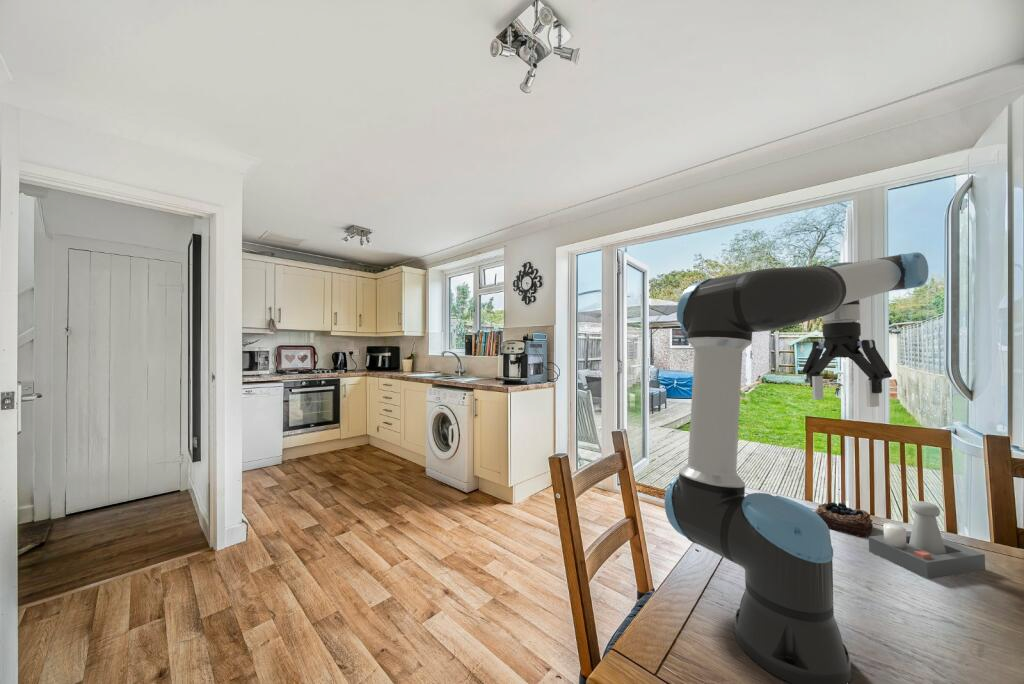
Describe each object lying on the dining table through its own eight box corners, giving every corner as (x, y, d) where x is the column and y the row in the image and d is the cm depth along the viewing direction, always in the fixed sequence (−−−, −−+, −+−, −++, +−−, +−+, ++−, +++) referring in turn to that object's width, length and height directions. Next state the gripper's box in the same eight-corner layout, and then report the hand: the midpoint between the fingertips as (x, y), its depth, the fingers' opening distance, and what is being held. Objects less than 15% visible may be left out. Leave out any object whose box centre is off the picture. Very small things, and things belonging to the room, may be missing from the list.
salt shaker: (955, 568, 81) (953, 509, 82) (924, 566, 82) (922, 507, 83) (931, 554, 87) (928, 498, 87) (902, 552, 88) (900, 497, 88)
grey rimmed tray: (927, 579, 78) (926, 543, 78) (869, 551, 89) (867, 520, 89) (985, 570, 81) (983, 535, 81) (921, 544, 91) (920, 513, 92)
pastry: (871, 541, 94) (870, 517, 94) (811, 525, 103) (810, 503, 103) (874, 526, 101) (873, 505, 101) (818, 512, 110) (817, 493, 110)
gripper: (910, 318, 86) (914, 409, 85) (807, 325, 110) (809, 396, 110) (884, 318, 84) (887, 410, 84) (786, 325, 109) (788, 397, 108)
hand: (843, 402), depth 97 cm, fingers open, 13 cm apart
